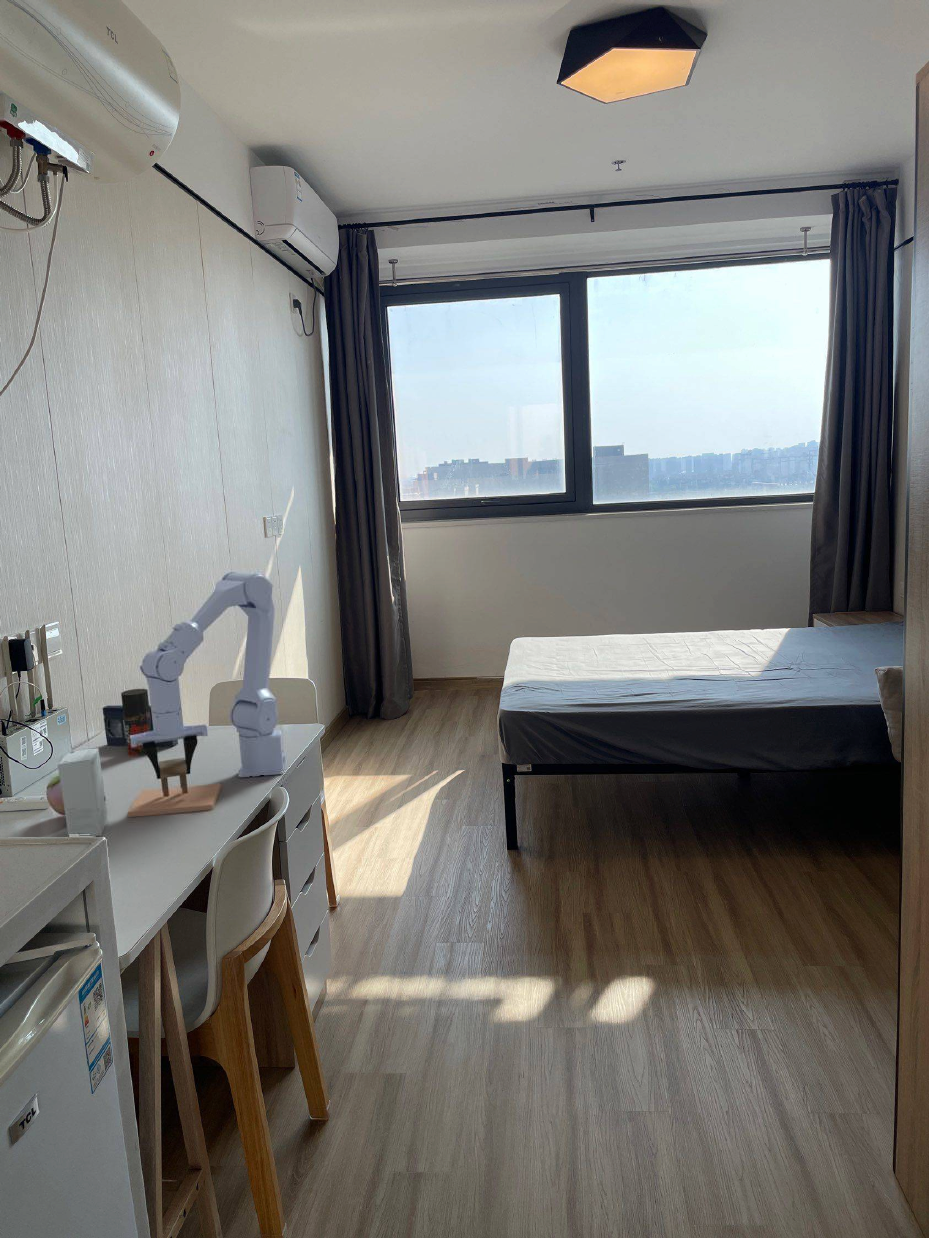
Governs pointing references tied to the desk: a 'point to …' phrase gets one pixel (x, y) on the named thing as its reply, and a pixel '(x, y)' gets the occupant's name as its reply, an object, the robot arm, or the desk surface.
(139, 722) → the deodorant
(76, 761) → the skincare box
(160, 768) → the stool
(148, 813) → the mat
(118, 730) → the vhs cassette tape
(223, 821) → the desk surface
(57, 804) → the decorative fruit
